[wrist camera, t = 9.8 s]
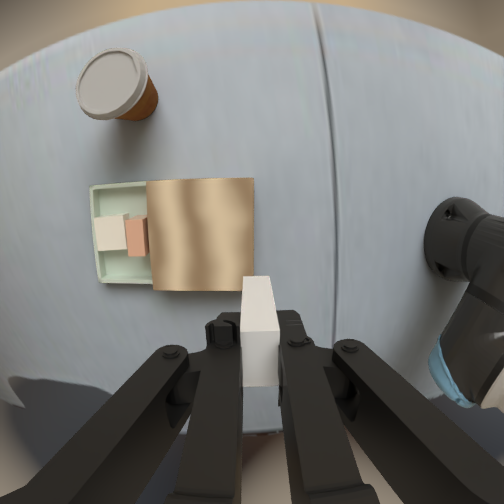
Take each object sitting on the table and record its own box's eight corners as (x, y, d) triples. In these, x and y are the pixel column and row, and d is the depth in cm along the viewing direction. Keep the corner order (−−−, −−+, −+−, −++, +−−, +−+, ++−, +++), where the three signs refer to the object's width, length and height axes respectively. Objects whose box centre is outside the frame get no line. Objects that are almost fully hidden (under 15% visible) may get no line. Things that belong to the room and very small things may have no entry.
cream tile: (93, 218, 39) (100, 215, 42) (98, 251, 40) (104, 247, 43) (122, 214, 39) (129, 212, 42) (127, 249, 41) (132, 245, 43)
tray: (154, 180, 41) (149, 180, 39) (160, 278, 45) (156, 283, 43) (96, 185, 41) (89, 185, 38) (105, 277, 45) (98, 282, 42)
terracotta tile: (142, 219, 37) (125, 220, 37) (145, 256, 38) (128, 256, 38) (152, 214, 42) (137, 215, 42) (155, 247, 43) (139, 247, 43)
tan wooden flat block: (252, 177, 42) (253, 178, 37) (252, 278, 46) (253, 290, 41) (156, 180, 41) (145, 181, 36) (162, 278, 45) (153, 290, 40)
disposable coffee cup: (162, 132, 40) (135, 118, 28) (106, 130, 39) (65, 119, 27) (174, 73, 37) (152, 42, 26) (117, 73, 37) (83, 48, 25)
